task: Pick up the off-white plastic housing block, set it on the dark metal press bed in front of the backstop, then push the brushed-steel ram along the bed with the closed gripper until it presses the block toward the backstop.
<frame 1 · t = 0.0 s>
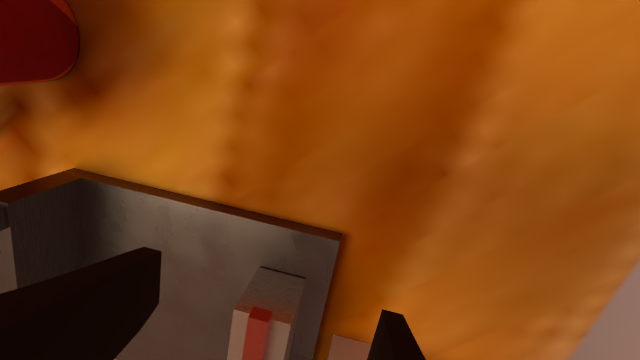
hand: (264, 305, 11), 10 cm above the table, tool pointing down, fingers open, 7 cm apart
paper cup: (39, 32, 20), on the table
press: (194, 291, 24), on the table
ram: (261, 353, 20), point 4 cm above the table, slide at 0.0 cm
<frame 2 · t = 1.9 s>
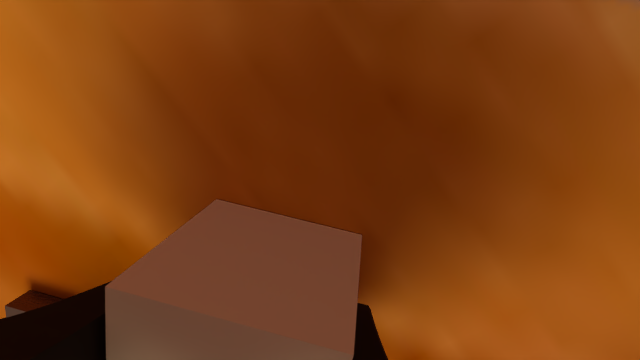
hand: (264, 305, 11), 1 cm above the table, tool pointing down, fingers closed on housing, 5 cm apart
housing: (276, 279, 12), on the table, touching gripper
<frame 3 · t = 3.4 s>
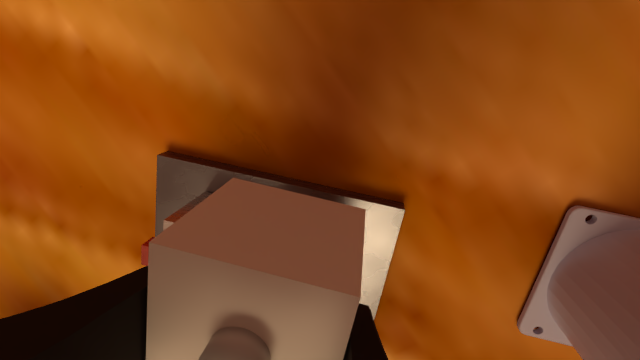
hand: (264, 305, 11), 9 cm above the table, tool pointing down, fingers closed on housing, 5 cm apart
housing: (287, 251, 13), point 7 cm above the table, touching gripper
press: (262, 304, 22), on the table
ram: (255, 251, 17), point 4 cm above the table, slide at 0.0 cm
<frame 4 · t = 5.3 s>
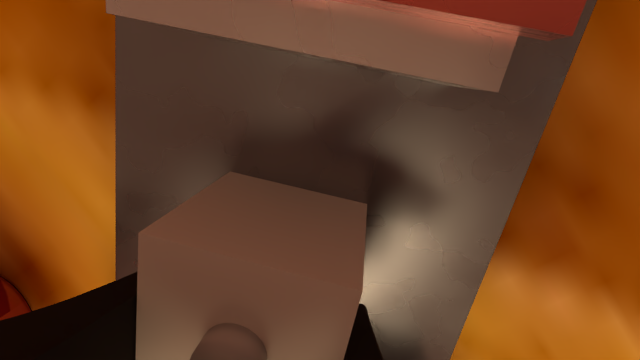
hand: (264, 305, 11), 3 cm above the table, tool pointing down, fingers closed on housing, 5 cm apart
housing: (286, 248, 13), point 1 cm above the table, touching gripper, press
press: (303, 183, 13), on the table
when the fingers open (3 cm above the table, at t = 5.7 s): housing stays where it is, resting on press.
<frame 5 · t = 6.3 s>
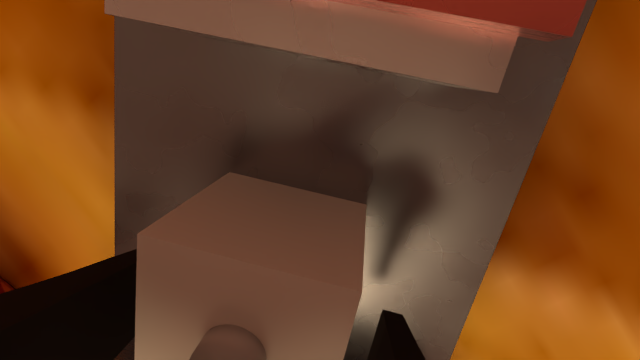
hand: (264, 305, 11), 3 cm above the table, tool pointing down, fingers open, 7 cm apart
housing: (285, 249, 13), point 1 cm above the table, touching press
press: (302, 184, 13), on the table
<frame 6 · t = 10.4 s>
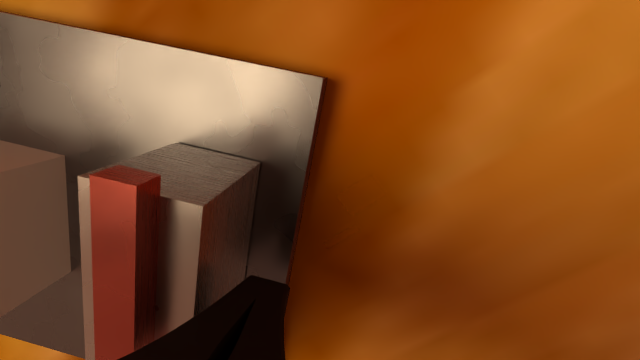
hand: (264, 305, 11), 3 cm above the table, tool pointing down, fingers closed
housing: (10, 202, 13), point 1 cm above the table, touching press
press: (84, 207, 14), on the table
ram: (171, 295, 10), point 3 cm above the table, slide at 0.0 cm, touching gripper
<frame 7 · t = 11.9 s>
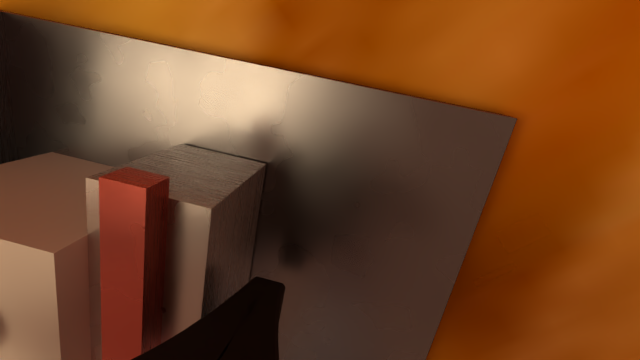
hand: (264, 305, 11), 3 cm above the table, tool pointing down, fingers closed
housing: (114, 228, 13), point 1 cm above the table, touching press, ram
press: (213, 240, 14), on the table
ram: (176, 296, 10), point 3 cm above the table, slide at 5.5 cm, touching gripper, housing
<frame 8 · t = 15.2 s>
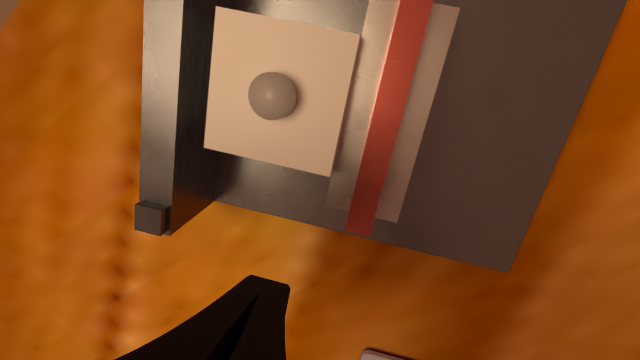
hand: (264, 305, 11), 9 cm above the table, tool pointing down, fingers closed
housing: (303, 90, 17), point 1 cm above the table, touching press, ram
press: (373, 104, 17), on the table
ram: (383, 113, 14), point 4 cm above the table, slide at 5.5 cm, touching housing
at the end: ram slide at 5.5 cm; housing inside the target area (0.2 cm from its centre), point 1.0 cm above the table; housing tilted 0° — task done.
